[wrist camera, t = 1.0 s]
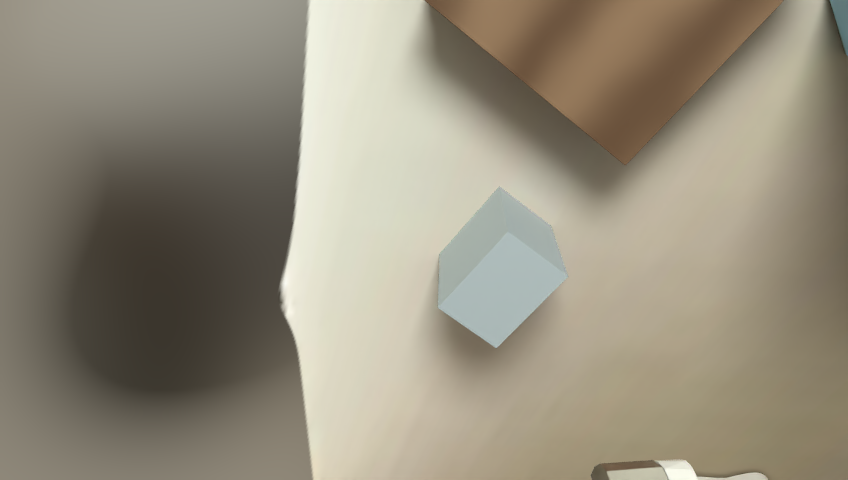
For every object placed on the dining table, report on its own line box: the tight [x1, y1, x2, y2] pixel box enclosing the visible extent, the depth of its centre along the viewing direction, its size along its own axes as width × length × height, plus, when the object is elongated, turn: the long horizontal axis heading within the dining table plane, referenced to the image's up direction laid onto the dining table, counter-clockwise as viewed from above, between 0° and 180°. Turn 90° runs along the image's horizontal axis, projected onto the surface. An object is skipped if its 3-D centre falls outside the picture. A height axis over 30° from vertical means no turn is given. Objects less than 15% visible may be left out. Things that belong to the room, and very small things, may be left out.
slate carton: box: [438, 186, 568, 348], centre depth 47 cm, size 5×7×8 cm
